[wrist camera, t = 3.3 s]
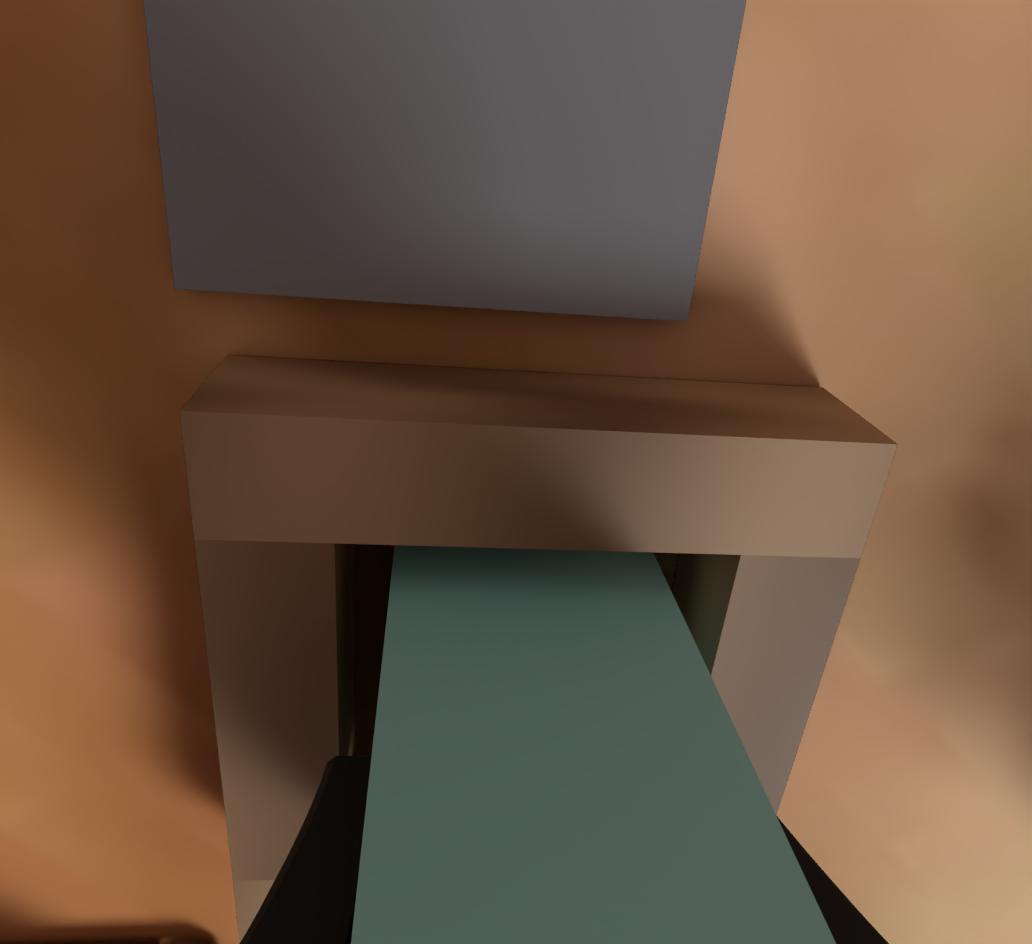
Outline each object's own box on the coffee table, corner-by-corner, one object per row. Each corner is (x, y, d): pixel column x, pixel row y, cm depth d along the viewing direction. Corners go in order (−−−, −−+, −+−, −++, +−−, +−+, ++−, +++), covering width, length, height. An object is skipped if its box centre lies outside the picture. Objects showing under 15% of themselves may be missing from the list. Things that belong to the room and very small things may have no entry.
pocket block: (267, 838, 15) (240, 947, 13) (227, 354, 11) (180, 410, 9) (701, 831, 16) (737, 933, 14) (823, 387, 12) (898, 444, 10)
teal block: (392, 768, 14) (336, 1475, 7) (395, 532, 12) (323, 1199, 5) (605, 767, 14) (767, 1428, 7) (647, 539, 12) (935, 1155, 5)
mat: (184, 282, 10) (174, 288, 10) (109, -443, 7) (92, -470, 7) (679, 315, 11) (687, 321, 11) (794, -329, 8) (810, -349, 8)
